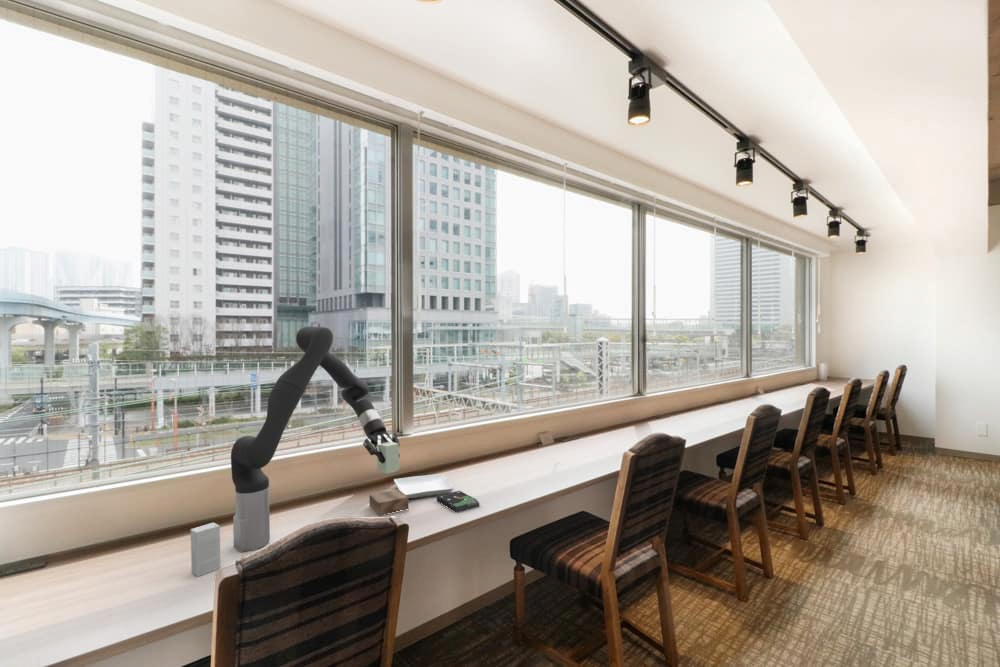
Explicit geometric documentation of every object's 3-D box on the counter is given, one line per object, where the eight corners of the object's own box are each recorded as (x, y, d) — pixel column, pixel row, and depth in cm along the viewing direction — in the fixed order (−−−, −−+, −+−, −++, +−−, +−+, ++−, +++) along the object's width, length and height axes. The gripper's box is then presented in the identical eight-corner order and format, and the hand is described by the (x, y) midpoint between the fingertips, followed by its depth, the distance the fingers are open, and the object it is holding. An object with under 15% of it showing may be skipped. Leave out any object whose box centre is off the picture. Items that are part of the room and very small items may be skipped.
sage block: (386, 474, 171) (385, 446, 171) (377, 471, 174) (377, 444, 174) (398, 470, 175) (398, 443, 175) (390, 467, 178) (389, 441, 178)
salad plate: (454, 495, 188) (454, 487, 188) (401, 503, 180) (401, 494, 180) (441, 480, 208) (441, 472, 208) (393, 487, 200) (392, 478, 200)
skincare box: (215, 564, 133) (214, 521, 133) (221, 568, 131) (220, 525, 131) (190, 572, 129) (189, 528, 129) (196, 577, 126) (195, 532, 126)
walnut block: (379, 517, 167) (378, 503, 167) (369, 507, 176) (369, 494, 176) (408, 510, 173) (408, 497, 173) (397, 501, 182) (397, 488, 182)
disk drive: (436, 503, 181) (456, 514, 169) (436, 495, 181) (455, 506, 169) (459, 497, 187) (480, 507, 175) (459, 490, 187) (479, 500, 175)
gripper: (359, 420, 174) (378, 458, 166) (391, 415, 185) (411, 450, 177) (351, 433, 178) (370, 470, 170) (384, 427, 188) (402, 462, 180)
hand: (391, 460), depth 173 cm, fingers closed on sage block, 5 cm apart
